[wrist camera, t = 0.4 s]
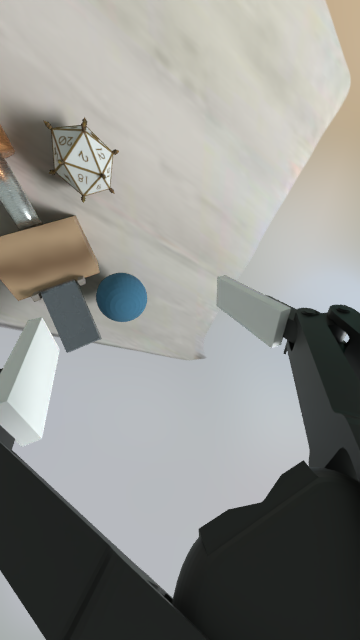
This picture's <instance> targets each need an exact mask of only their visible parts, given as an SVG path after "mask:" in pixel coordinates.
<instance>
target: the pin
mask: <svg viewBox="0 0 360 640" xmlns="http://www.w3.org/2000/svg"><path fill="white" fill-rule="evenodd" d="M14 153H15V150H14V148H13V147H12V145H11V143H10V141H9V139H8V137H7V136H6V134H5V132H4V130H3V128H2V126H1V125H0V201H1V202H2V204H3V205H4V207H5V208H6V210H7V211H8V213H9V214H10V216H11V217H12V219H13V220H14V222H15V223H16V225H17V227H18V228H19V230H20V231H22V230H26V229H29V228H33V227H36V226H40V225H43V224H42V222H41V220H40V219H39V217H38V215H37V213H36V212H35V210H34V208H33V207H32V205H31V203H30V201H29V200H28V198H27V196H26V195H25V193H24V191H23V189H22V188H21V186H20V184H19V183H18V181H17V179H16V177H15V176H14V174H13V172H12V171H11V169H10V167H9V165H8V164H7V162H6V160H5V159H4V158H7V157H10V156H12V155H13V154H14Z"/></svg>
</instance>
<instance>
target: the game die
mask: <svg viewBox="0 0 360 640" xmlns="http://www.w3.org/2000/svg"><path fill="white" fill-rule="evenodd" d="M43 121H44V120H43ZM82 121H83V122H82V124H81V125H77V126H66V127H56V128H52V126H51V124H49V122H46V121H44V123H45V125H46V126H47V127H48V129H50V130H51V134H52V147H53V160H54V170H50V172H49V174H52V175H53V174H54V175H55V173H57V174H58V175H59V176H60V177H61V178H63V179H64V180H65V181H66V182H67V183H68V184H70V185H71V186H72V187H73V188H74V189H75V190H77V191H78V192H79V193H80V194H81V195H82V197H81V200H82V201H83V203H84V201H86V200H85V196H87V195H90V194H94V193H97V192H101V191H104V190H108V189H109V190H110V192H111V193H114V190H113V189H112V188H110V184H111V173H112V162H113V154H115V155H116V154H117V153H118V152H119V151H118V150H116V149H115V150H113V151H111V150H110V149H109V148H108V147H107V146H106V145H105V144H104V143H103V142H102V141H101V140H100V139H99V138H98V137H97V136H96V135H95V134H94V133H93V132H92V131H91V130H90V129H89V128H88V127H87V126H86V125H87V121H86V119H85V118H84V119H83V120H82ZM114 194H115V193H114Z"/></svg>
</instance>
